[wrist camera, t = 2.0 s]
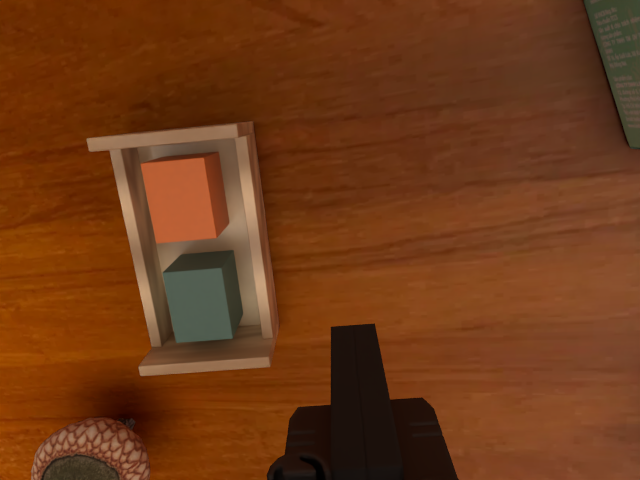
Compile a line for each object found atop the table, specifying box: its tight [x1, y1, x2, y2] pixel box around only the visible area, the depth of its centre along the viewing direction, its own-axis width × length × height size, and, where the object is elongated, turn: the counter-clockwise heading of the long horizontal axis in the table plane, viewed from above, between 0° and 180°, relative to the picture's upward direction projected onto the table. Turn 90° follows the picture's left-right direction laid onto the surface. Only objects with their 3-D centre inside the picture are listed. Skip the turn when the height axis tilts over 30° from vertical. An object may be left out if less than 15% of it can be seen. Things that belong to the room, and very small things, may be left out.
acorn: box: [31, 416, 150, 480], centre depth 35 cm, size 8×8×10 cm
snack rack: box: [87, 121, 279, 376], centre depth 32 cm, size 16×9×6 cm, turn 5°
